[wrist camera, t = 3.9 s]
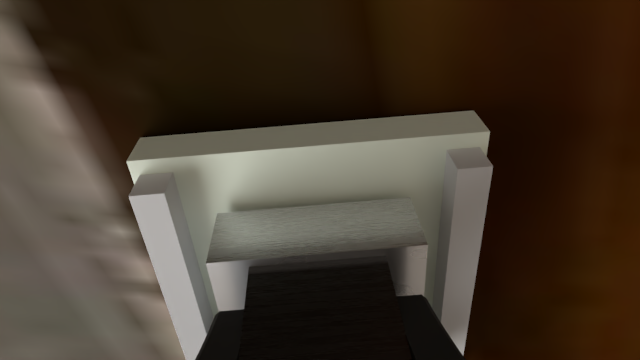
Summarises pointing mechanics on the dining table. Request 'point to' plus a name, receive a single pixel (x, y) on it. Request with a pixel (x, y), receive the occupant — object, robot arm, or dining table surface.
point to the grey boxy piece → (319, 278)
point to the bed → (313, 197)
